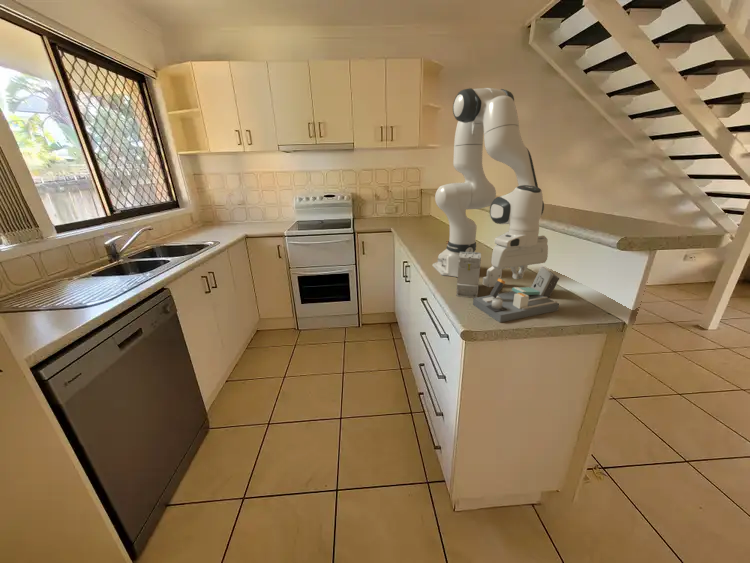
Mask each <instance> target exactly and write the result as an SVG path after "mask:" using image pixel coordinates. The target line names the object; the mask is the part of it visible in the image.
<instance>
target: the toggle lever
mask: <svg viewBox="0 0 750 563" xmlns="http://www.w3.org/2000/svg"><path fill="white" fill-rule="evenodd" d="M505 284H506V280H503V279H502V278H501V279H499V278H498V280H497V283H496V284H495V286H493V288H492V290H491V291H490V294H489V295H491V296H493V297H495V298H496V297H497V295H498V294H500V291H501V290H502V288H503V286H504V285H505Z"/></svg>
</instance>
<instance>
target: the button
mask: <svg viewBox="0 0 750 563" xmlns="http://www.w3.org/2000/svg"><path fill="white" fill-rule="evenodd" d="M502 304H503V300H501V299H497V298H495V299H492V305H491V307H492V308H493V309H502Z"/></svg>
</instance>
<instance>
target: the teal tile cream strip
mask: <svg viewBox="0 0 750 563" xmlns="http://www.w3.org/2000/svg"><path fill="white" fill-rule="evenodd" d="M512 291H514V292H516V293H524V294H526V295H539V294H540V292H539V291H537V290H535V289H533V288H531V286H529V287H528V286H527V287H526V286H525V287H517V286H516V287H515V286H514V287H512V288H511V292H512Z"/></svg>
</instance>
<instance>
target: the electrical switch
mask: <svg viewBox="0 0 750 563" xmlns="http://www.w3.org/2000/svg"><path fill="white" fill-rule="evenodd" d="M559 281H560V277H559V276H558V275H556V274H555V273H554V272H552V271H550V270H548V269H547V268H546V267H544V266H541V267H540V268H539V270H538V273H537V274H536V276H535V277H534V280H533V283H532V284H531V286H530V288H533V289H535V290H537V291H539V292H540V295H542V296H544V297H548V298H550V297H551V295H552V293H553V291H554V290H555V288H556V285H557V284H558V282H559Z"/></svg>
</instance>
